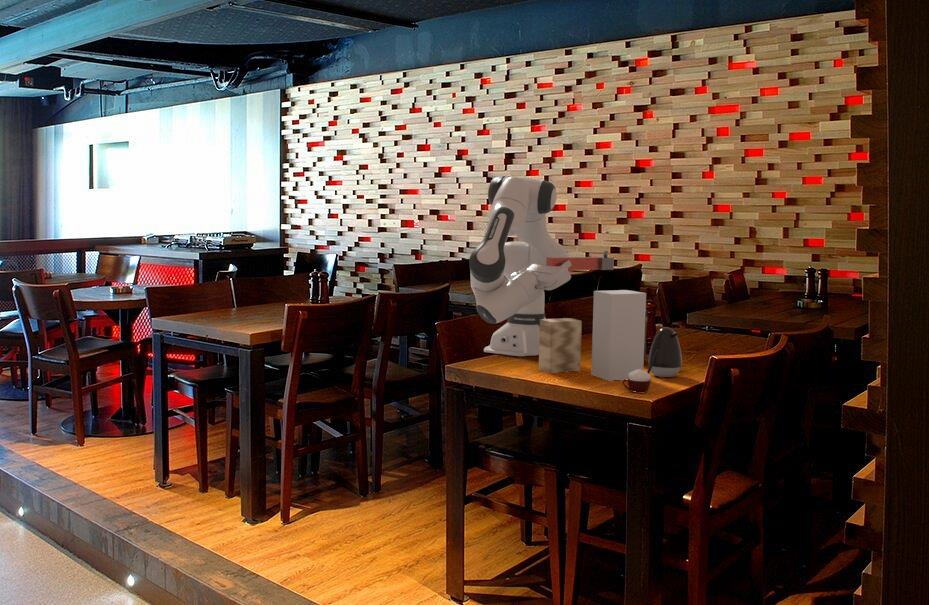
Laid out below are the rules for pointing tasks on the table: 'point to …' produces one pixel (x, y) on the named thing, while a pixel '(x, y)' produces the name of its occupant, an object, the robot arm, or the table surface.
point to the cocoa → (640, 378)
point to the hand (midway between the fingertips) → (565, 261)
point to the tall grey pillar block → (618, 333)
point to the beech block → (560, 345)
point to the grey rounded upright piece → (665, 353)
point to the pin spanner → (584, 262)
